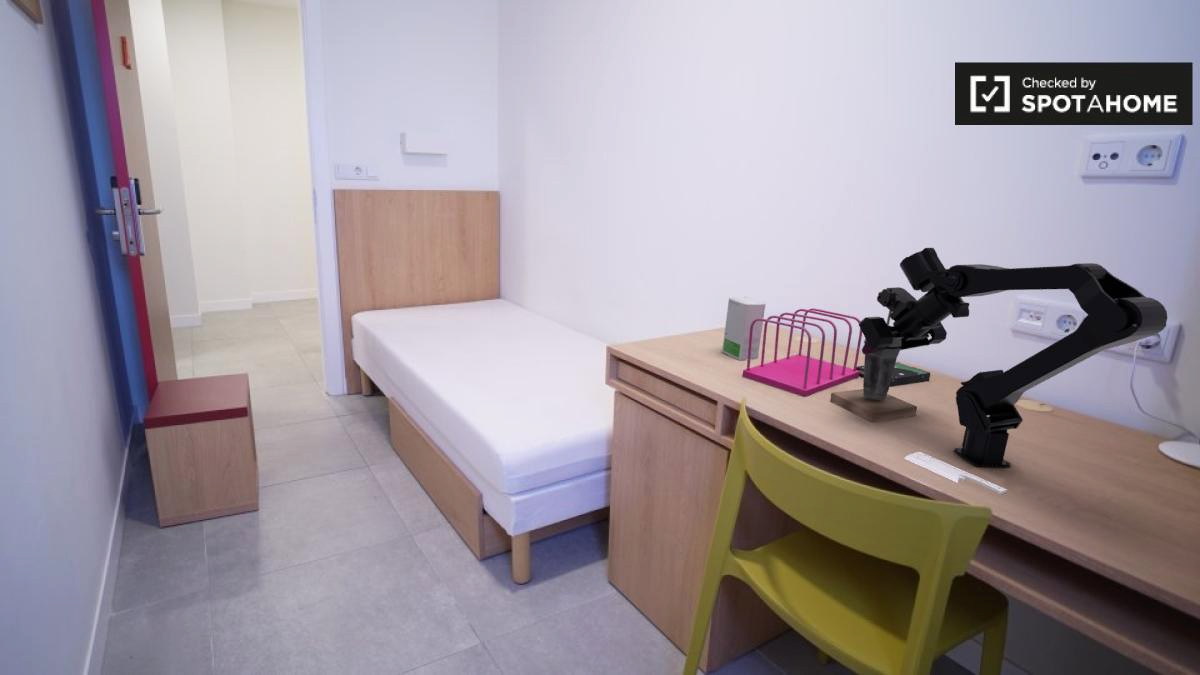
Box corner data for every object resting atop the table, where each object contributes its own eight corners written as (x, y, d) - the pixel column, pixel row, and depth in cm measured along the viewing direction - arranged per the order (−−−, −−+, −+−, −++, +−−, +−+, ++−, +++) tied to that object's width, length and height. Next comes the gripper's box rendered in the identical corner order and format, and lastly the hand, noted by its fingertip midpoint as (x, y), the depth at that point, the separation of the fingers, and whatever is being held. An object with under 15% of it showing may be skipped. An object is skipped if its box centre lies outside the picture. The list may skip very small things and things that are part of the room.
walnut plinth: (915, 415, 127) (917, 406, 127) (871, 421, 123) (873, 412, 123) (872, 396, 138) (873, 387, 138) (830, 401, 134) (831, 392, 133)
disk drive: (887, 390, 145) (929, 382, 151) (889, 379, 144) (931, 372, 150) (853, 376, 154) (894, 370, 160) (854, 366, 153) (896, 360, 159)
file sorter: (741, 377, 149) (747, 314, 145) (797, 360, 165) (805, 303, 160) (805, 397, 136) (814, 330, 132) (859, 377, 152) (869, 316, 148)
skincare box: (721, 352, 168) (726, 297, 164) (740, 350, 171) (746, 296, 167) (740, 361, 161) (746, 303, 157) (760, 359, 164) (766, 302, 160)
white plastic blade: (987, 501, 94) (989, 494, 94) (901, 461, 107) (902, 455, 107) (1006, 493, 97) (1007, 487, 96) (919, 456, 109) (920, 450, 109)
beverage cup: (848, 393, 131) (862, 302, 126) (869, 388, 135) (883, 299, 130) (879, 404, 125) (894, 309, 120) (900, 398, 129) (915, 306, 124)
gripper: (944, 275, 123) (892, 317, 136) (873, 277, 116) (825, 321, 129) (972, 321, 118) (916, 360, 130) (899, 326, 111) (847, 367, 124)
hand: (876, 351), depth 128 cm, fingers closed on beverage cup, 7 cm apart
